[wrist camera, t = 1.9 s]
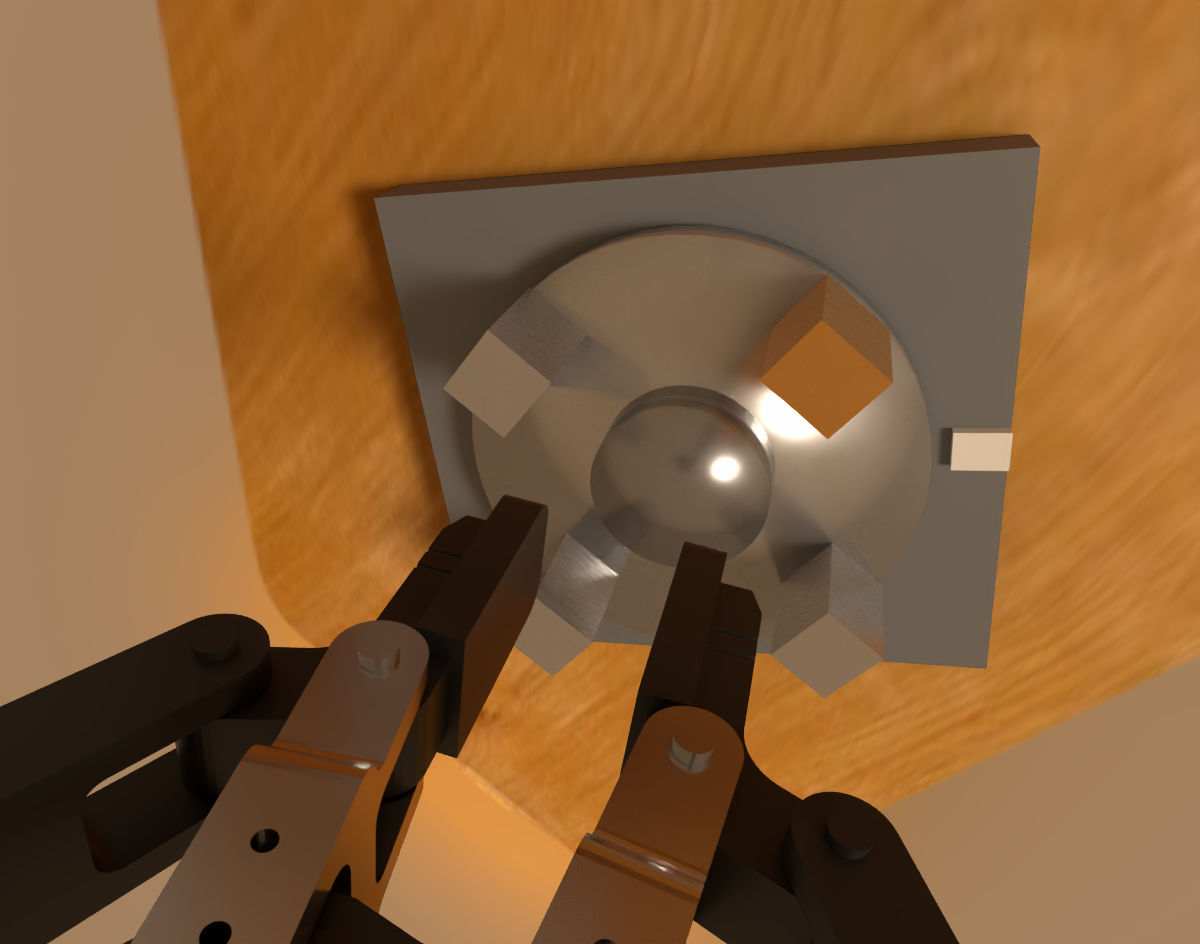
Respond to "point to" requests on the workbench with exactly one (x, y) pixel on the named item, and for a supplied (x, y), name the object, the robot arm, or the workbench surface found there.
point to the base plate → (825, 232)
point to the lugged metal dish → (704, 440)
